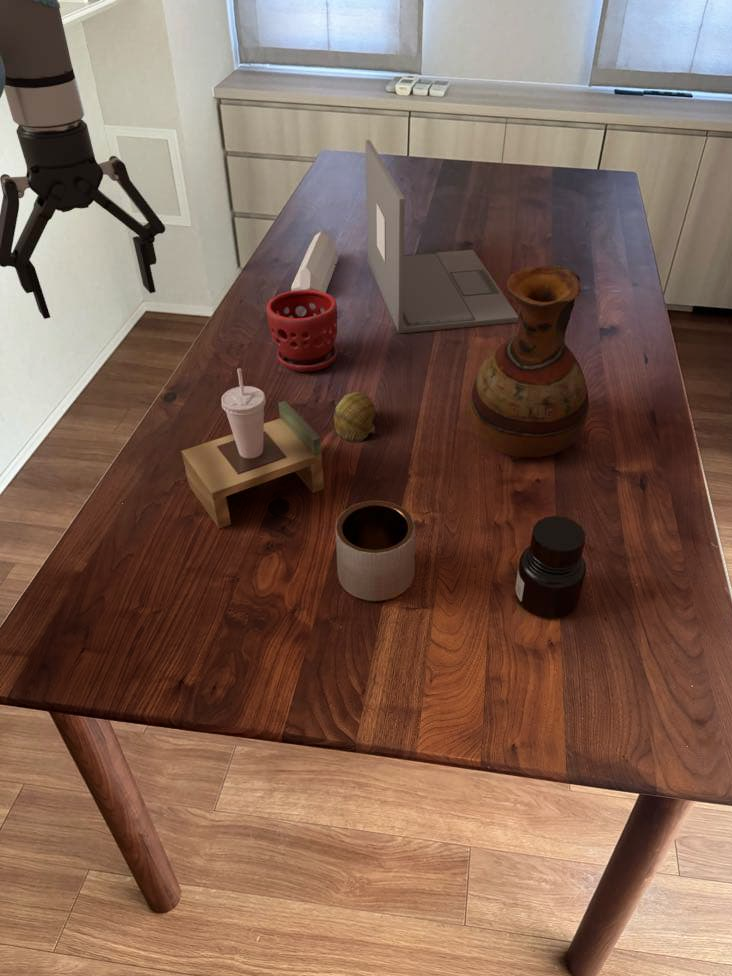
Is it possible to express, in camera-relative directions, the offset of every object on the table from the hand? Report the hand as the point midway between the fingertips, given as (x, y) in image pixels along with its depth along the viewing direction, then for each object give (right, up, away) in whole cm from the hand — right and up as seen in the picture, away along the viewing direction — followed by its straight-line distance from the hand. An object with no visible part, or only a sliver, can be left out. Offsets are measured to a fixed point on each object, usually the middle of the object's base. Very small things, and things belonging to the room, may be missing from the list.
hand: (98, 301), depth 103 cm
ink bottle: (+59, -39, +8) cm, 71 cm away
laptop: (+47, +25, +76) cm, 92 cm away
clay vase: (+61, -12, +36) cm, 72 cm away
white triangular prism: (+19, +29, +79) cm, 87 cm away
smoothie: (+16, -17, +19) cm, 31 cm away
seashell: (+31, -11, +37) cm, 50 cm away
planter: (+36, -36, +10) cm, 52 cm away
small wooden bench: (+16, -22, +24) cm, 37 cm away
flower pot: (+20, +4, +53) cm, 57 cm away
